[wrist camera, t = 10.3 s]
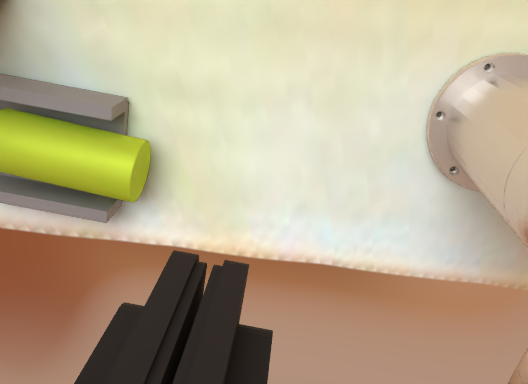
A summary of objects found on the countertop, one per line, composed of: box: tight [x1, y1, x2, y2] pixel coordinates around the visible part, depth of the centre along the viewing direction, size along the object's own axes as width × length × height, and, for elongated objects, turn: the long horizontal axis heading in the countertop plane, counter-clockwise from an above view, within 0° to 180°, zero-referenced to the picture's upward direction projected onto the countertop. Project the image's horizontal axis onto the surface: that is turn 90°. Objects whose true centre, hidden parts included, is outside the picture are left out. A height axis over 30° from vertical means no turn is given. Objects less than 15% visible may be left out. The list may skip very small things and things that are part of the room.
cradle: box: [0, 74, 129, 223], centre depth 48 cm, size 13×11×4 cm
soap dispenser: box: [0, 108, 151, 202], centre depth 46 cm, size 6×7×20 cm
